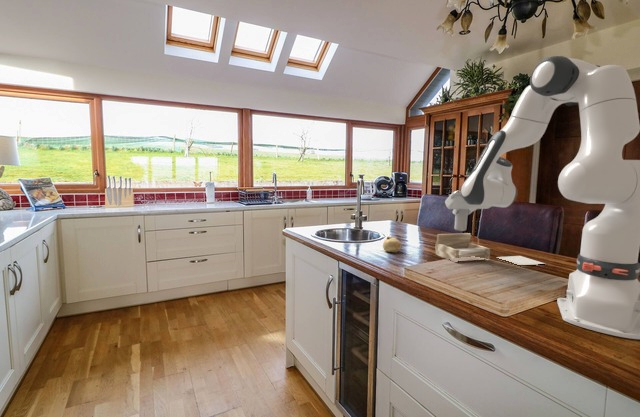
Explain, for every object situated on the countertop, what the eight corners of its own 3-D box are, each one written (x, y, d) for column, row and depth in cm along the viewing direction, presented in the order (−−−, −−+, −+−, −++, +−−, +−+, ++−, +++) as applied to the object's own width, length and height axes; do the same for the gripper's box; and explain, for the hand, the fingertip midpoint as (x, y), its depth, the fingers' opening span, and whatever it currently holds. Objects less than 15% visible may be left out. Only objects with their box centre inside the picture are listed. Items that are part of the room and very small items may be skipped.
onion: (394, 249, 152) (395, 234, 152) (404, 253, 145) (405, 237, 144) (379, 250, 150) (380, 235, 149) (388, 254, 142) (389, 238, 142)
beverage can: (452, 229, 139) (454, 201, 138) (456, 228, 143) (459, 201, 141) (463, 231, 136) (466, 202, 134) (468, 230, 139) (470, 202, 138)
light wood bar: (484, 260, 134) (485, 249, 134) (458, 262, 131) (459, 251, 131) (477, 258, 138) (478, 247, 138) (451, 259, 135) (452, 248, 135)
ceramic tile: (545, 264, 129) (545, 263, 129) (519, 266, 126) (519, 265, 126) (520, 257, 141) (520, 255, 141) (496, 258, 138) (496, 257, 138)
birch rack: (489, 260, 134) (491, 239, 133) (455, 262, 131) (456, 240, 130) (466, 252, 148) (467, 232, 147) (435, 254, 144) (436, 233, 143)
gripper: (458, 196, 124) (441, 219, 134) (504, 197, 129) (484, 218, 139) (451, 184, 128) (436, 207, 138) (496, 185, 133) (477, 207, 143)
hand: (460, 213), depth 139 cm, fingers closed on beverage can, 5 cm apart
